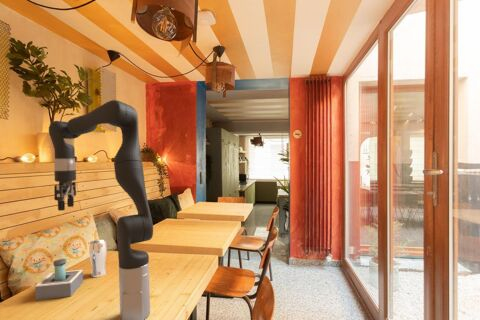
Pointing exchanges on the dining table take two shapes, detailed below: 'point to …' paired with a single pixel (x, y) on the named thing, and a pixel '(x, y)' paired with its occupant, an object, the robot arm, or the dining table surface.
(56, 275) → the plug
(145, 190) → the robot arm
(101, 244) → the tumbler
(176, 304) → the dining table surface
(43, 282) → the socket block
